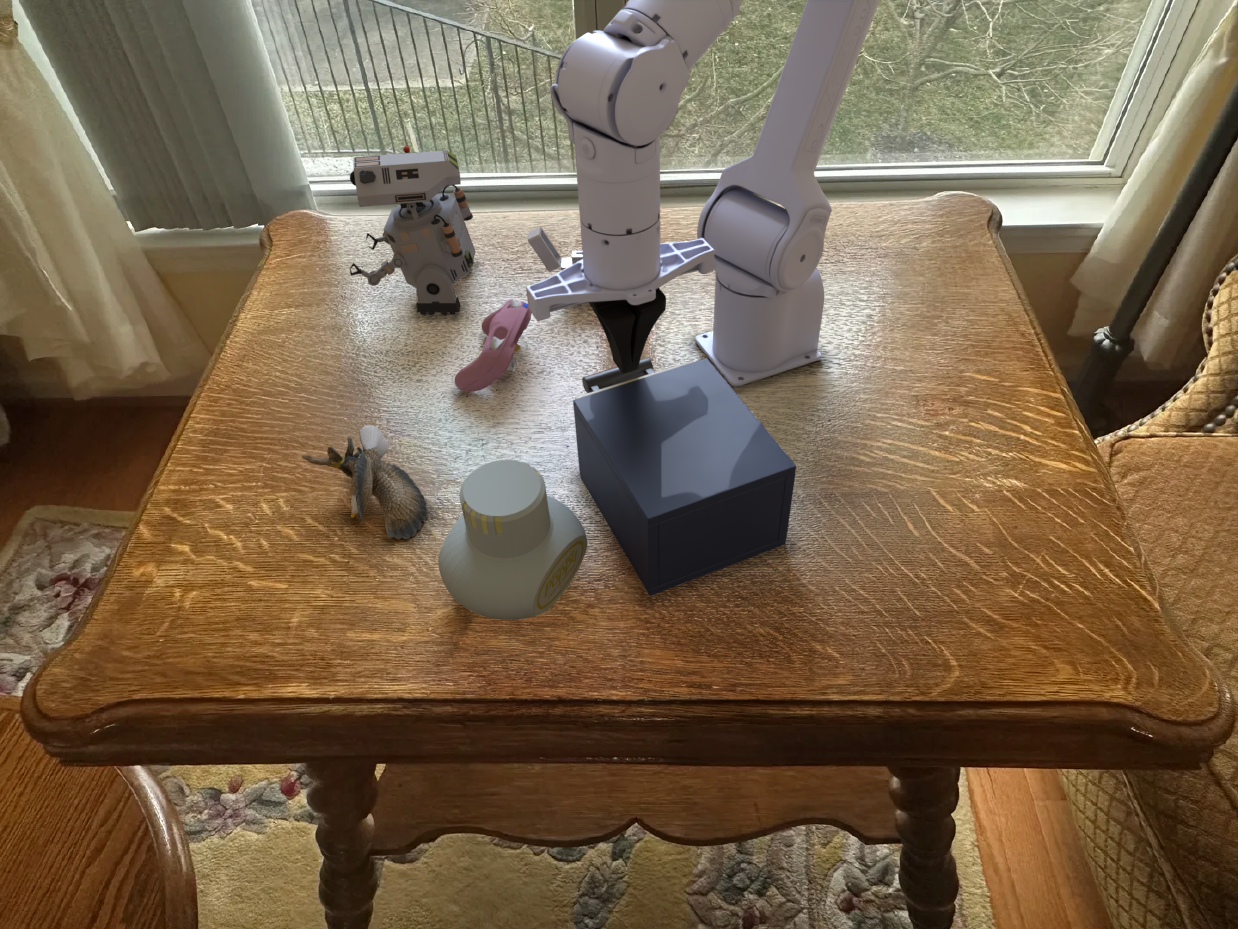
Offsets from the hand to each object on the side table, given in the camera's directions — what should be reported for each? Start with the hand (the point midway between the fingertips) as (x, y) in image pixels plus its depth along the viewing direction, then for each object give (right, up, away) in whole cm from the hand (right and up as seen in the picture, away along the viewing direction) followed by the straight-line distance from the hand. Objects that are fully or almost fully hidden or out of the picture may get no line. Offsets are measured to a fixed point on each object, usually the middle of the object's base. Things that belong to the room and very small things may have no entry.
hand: (625, 364), depth 76 cm
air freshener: (-8, -17, -5) cm, 19 cm away
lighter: (-6, +9, +20) cm, 23 cm away
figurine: (-21, +10, +22) cm, 32 cm away
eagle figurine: (-20, -12, +1) cm, 23 cm away
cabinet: (+4, -12, -1) cm, 13 cm away
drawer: (+3, -9, +1) cm, 9 cm away
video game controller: (-12, +1, +13) cm, 18 cm away
